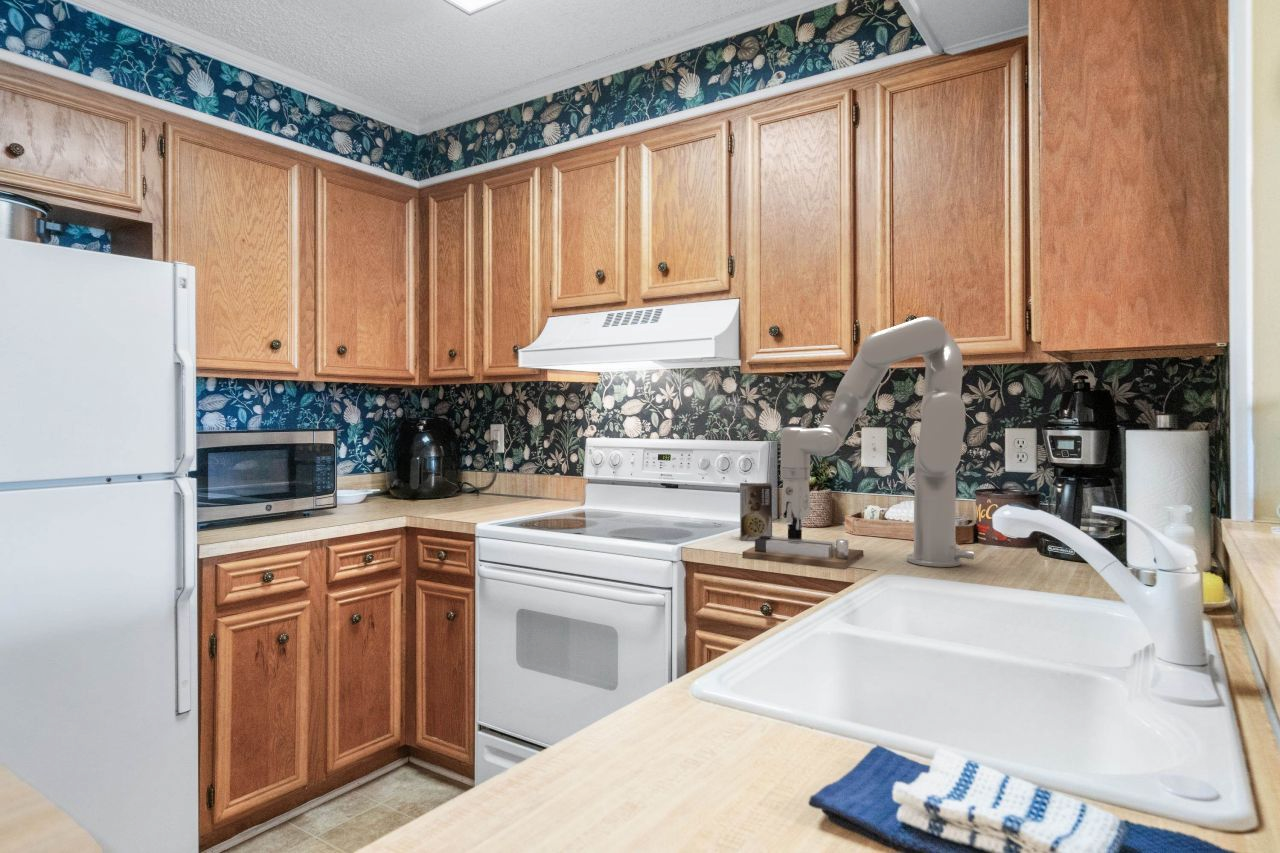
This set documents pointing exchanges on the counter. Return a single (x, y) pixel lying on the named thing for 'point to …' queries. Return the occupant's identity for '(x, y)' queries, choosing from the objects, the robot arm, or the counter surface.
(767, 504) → the printed cardboard box
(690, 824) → the counter surface
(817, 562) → the cutting board
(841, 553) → the tongs fixed
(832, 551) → the arm
